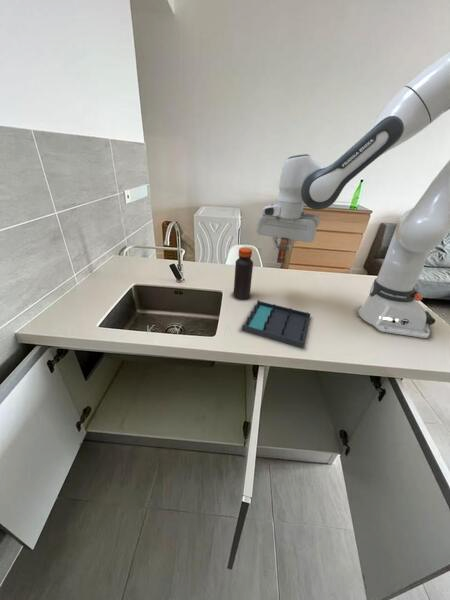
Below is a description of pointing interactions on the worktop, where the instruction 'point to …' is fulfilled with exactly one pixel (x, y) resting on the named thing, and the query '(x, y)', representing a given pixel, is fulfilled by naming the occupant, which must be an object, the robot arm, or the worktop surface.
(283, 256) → the brown flat piece
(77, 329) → the worktop surface
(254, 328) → the tray
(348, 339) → the worktop surface
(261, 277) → the worktop surface
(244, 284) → the bottle
